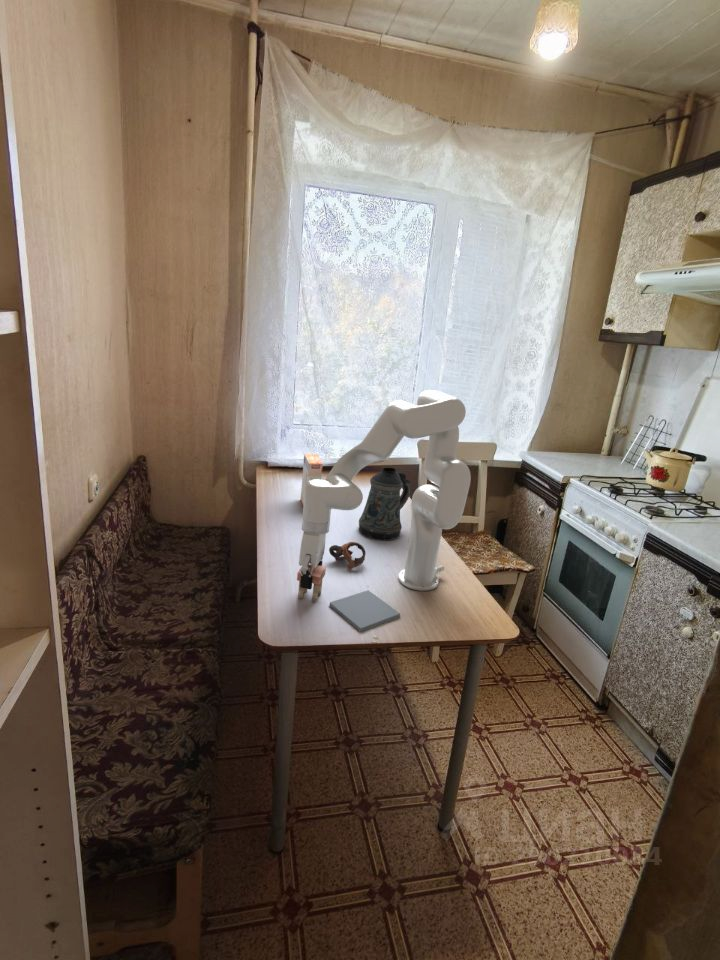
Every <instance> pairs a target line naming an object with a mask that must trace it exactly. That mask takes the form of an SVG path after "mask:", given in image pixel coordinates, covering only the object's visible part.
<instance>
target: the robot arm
mask: <svg viewBox="0 0 720 960" xmlns="http://www.w3.org/2000/svg"><path fill="white" fill-rule="evenodd" d="M466 411H467V409H466V406H465V404H464V403H463V400H462V399H461V400H460V399H459V398H458V397H455V396H452V395H449V394H447V393H444V392H442V391H438V390H431V389H428V390H427V389H426V390H424V391H423V392H421V393H420V394H419V396H418V397H417V403H416V405H415V404H412V403H410V402H407V401H404V400H393V401H392V402H390V403H389V404H388V405H387V406H386V407H385V409H383V412H382V413H381V415H379V418H378V419H377V420H376V422H375V423H374V424H373V426H372V427H371V429H370V430H369V431H368V432H367V434H366V435H365V437H364V439H362V441H361V442H360V443H359V444H357V445H355V446H354V447H352V448H351V449H350V450H348V451H346V452H345V454H343V455H342V456H341V457H340V458H339V459H338V460H337V461H336V463H335V464H334V465H333V466H332V468H331V470H330V471H329V473H328V475H327V476H326V478H325V479H321V480H319V479H315V480H310V481H308V482H307V483H306V485H305V492H304V505H302V507H303V508H302V521H301V530H302V532H303V534H302V538H301V543H300V550H299V557H298V558H299V559H298V565H299V566H300V567H302V571H301V582H300V587H301V588H305V589H307V590H312V588H313V583H312V580H313V576H312V572H313V568H315V567H316V566H317V565H319V566H323V559H324V555H325V549H326V537H327V536H326V535H327V534H328V533H329V531H330V524H331V523H330V522H331V516H332V515H331V513H332V510H339V511H353V510H356V509H358V507H360V506H361V505H362V503H363V499H364V496H363V492H362V490H361V488H359V486H357V485H356V484H355V483H354V482H353V479H354V478H355V477H356V475H358V473H359V472H360V471H361V470H362V469H364V468H366V467H367V466H369V465H373V464H378V463H383V462H386V461H387V460H389V458H390V457H391V455H392V454H393V453H394V451H395V449H396V448H397V446H399V444H400V442H401V441H402V439H404V437H406V438H408V439H421V438H426V437H428V444H427V448H426V453H425V456H424V461H423V466H422V473H423V476H424V477H425V479H427V480H428V481H429V482H430V483H433V484H434V485H433V484H422V485H420V486H418V487H417V488H416V489H415V491H414V492H413V494H412V498H411V503H410V504H411V505H410V506H411V524H410V530H409V538H408V545H407V549H406V550H407V551H406V558H405V564H404V569H402V570H401V571H400V572H399V573H398V581H399V582H400V584H402V585H403V586H404V587H405V588H408V589H412V590H414V591H415V590H416V591H423V592H424V591H431V590H434V589H436V588H437V587H438V585H439V578H438V577H437V575H438V573H440V572H441V573H442V572H444V571H445V567H444V565H443V564H442V565H441V564H440V565H438V566H437V563H438V557H439V550H440V545H441V538H442V532H443V530H451V529H453V528H455V527H456V526H457V525H458V524H459V522H460V521H461V519H462V517H463V514H464V511H465V507H466V501H467V498H468V495H469V491H470V487H471V479H472V477H471V470H470V468H469V466H468V465H467V464H466V463H465V462H464V461H463V460H460V459H459V458H457V452H458V446H459V440H460V429H459V426H460V425H461V424H462V423H463V422H464V420H465V417H466ZM309 564H312V565H309ZM308 568H311V569H310V572H309V570H308Z"/></svg>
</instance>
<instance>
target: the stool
mask: <svg viewBox="0 0 720 960" xmlns="http://www.w3.org/2000/svg"><path fill="white" fill-rule="evenodd" d="M309 565H312V564H310V563H309ZM326 568H327V567H326V566H323V565H322V566H319V565H317V566H316V567H315V568H313V572H312V576H313V580H312V588H313V589H312V598H311V601H312V602H313V603H316V602H318V597H319V595H322V588H323V579H324V577H325V575H326V571H327V570H326ZM310 569H311V568H308V570H309V572H310ZM301 571H302V566H300V569H299V570H298V571H297V575H296V576H297V577H296V580H297V581H298V594H297V598H298V599H299V600H303V599H304V593H307V592H308V589H305V588H301V587H300V582H301ZM298 599H297V600H298Z"/></svg>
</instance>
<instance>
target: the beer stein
mask: <svg viewBox="0 0 720 960" xmlns="http://www.w3.org/2000/svg"><path fill="white" fill-rule="evenodd" d="M369 482H370V489H369V492H368V496H367V499H366V502H365V506H364V508H363V511H362V513H361V516H360V517H359V520H358V530H359V532H360V534H361V535H362V536H365V537H367V538H369V539H373V540H378V541H391V540H394V539H397V538H398V537H399V536H400V533H401V530H402V529H403V527H402V523H401V510H402V508H403V507H404V506H405V505H406V503H407V501H408V500H409V498H410V496H411V491H412V487H411V481H410V480H409V479H407V476H406V474H405V473H403V472H401V471H397V470H396V468H394V467H383V468H382V469H381V471H380V472H378V473H376V474H374V475H372V476H371V477H370V480H369ZM401 490H402V492H401Z"/></svg>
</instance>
